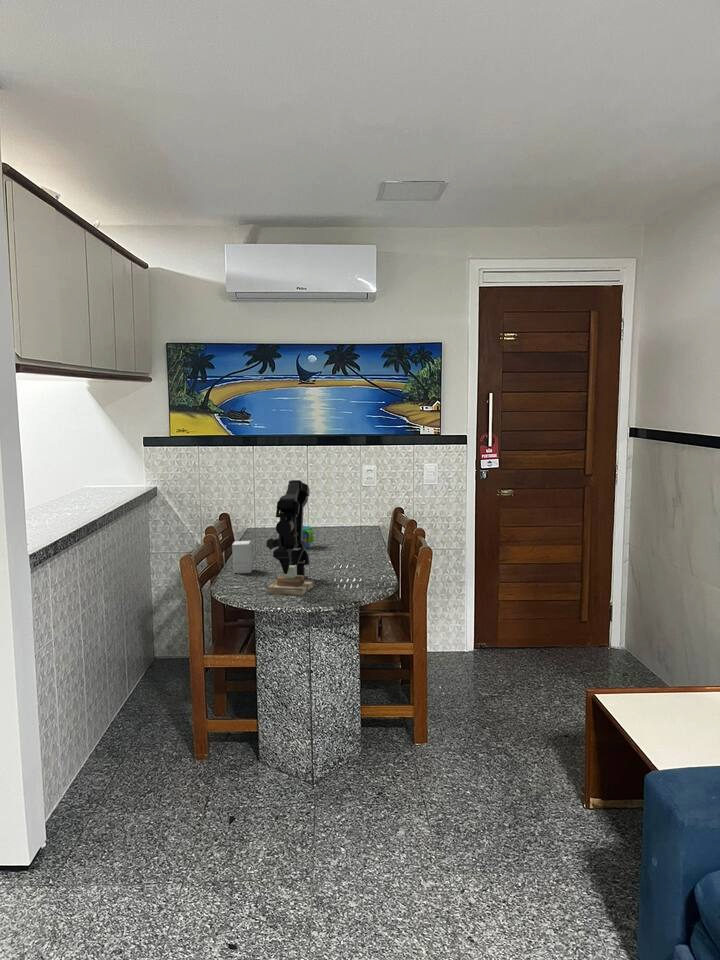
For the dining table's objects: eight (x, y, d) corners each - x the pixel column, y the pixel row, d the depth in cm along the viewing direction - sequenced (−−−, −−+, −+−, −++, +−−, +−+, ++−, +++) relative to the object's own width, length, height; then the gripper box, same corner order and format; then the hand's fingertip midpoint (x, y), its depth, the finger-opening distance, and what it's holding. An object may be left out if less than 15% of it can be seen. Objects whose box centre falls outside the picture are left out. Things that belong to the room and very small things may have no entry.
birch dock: (281, 583, 282) (280, 578, 282) (314, 585, 278) (314, 580, 278) (266, 593, 269) (266, 587, 268) (301, 595, 265) (301, 589, 264)
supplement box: (252, 569, 308) (251, 540, 306) (250, 573, 300) (249, 543, 299) (235, 569, 307) (234, 540, 306) (233, 573, 300) (231, 544, 299)
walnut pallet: (282, 581, 277) (282, 574, 277) (304, 583, 274) (304, 575, 274) (277, 585, 272) (276, 577, 271) (299, 586, 269) (298, 579, 269)
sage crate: (286, 575, 275) (286, 565, 275) (296, 575, 274) (296, 565, 274) (283, 577, 271) (283, 567, 271) (294, 578, 270) (293, 567, 270)
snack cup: (283, 547, 351) (282, 527, 350) (301, 544, 358) (300, 524, 356) (301, 552, 339) (301, 531, 338) (319, 548, 346) (319, 528, 344)
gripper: (278, 525, 282) (280, 564, 283) (259, 534, 264) (260, 576, 266) (305, 526, 279) (306, 565, 280) (287, 535, 261) (288, 577, 263)
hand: (290, 571), depth 272 cm, fingers open, 9 cm apart
